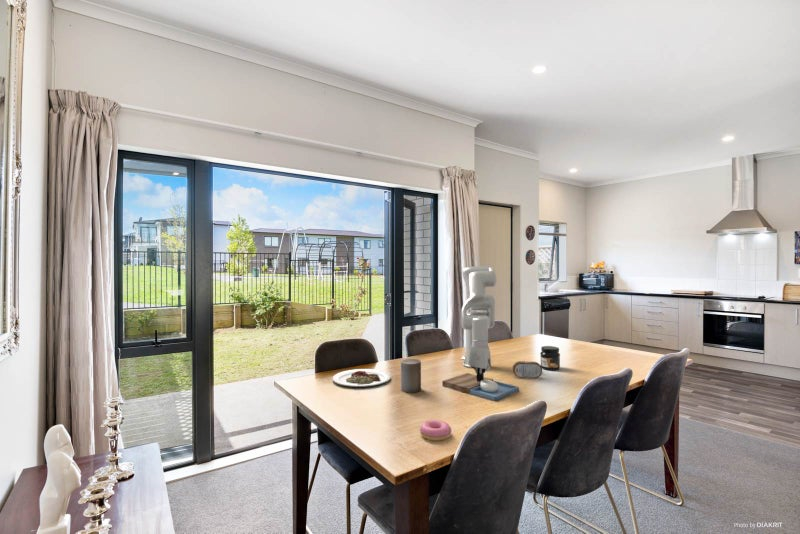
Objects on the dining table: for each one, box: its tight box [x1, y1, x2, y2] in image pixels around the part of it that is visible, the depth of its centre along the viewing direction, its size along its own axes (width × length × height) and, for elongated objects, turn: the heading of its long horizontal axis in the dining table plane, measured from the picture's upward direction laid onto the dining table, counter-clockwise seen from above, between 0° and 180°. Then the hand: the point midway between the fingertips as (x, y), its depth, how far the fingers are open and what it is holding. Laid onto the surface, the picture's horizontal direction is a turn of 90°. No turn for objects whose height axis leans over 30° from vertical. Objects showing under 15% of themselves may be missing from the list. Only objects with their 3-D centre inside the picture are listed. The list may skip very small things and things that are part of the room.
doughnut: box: [419, 419, 452, 442], centre depth 136 cm, size 11×11×4 cm
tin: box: [512, 360, 543, 379], centre depth 205 cm, size 15×3×8 cm, turn 84°
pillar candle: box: [400, 358, 422, 394], centre depth 186 cm, size 10×10×15 cm
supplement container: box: [539, 345, 561, 372], centre depth 223 cm, size 10×10×12 cm
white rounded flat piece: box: [480, 380, 498, 392], centre depth 183 cm, size 8×8×2 cm
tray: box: [469, 380, 520, 402], centre depth 181 cm, size 14×20×2 cm
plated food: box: [332, 368, 391, 388], centre depth 202 cm, size 30×30×3 cm
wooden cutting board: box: [441, 372, 494, 395], centre depth 192 cm, size 16×20×2 cm
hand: (480, 381), depth 187 cm, fingers closed
